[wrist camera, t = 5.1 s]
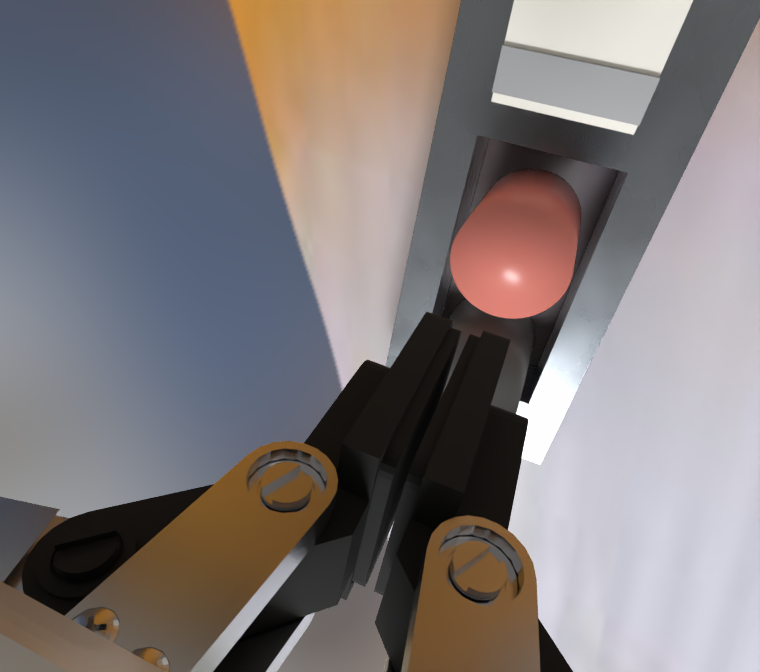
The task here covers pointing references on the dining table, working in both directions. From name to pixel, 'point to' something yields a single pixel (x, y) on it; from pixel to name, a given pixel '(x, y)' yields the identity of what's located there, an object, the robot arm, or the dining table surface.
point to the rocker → (587, 58)
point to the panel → (576, 141)
